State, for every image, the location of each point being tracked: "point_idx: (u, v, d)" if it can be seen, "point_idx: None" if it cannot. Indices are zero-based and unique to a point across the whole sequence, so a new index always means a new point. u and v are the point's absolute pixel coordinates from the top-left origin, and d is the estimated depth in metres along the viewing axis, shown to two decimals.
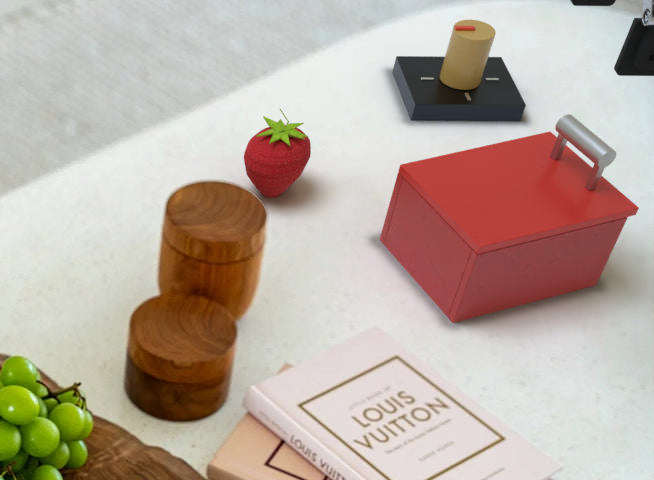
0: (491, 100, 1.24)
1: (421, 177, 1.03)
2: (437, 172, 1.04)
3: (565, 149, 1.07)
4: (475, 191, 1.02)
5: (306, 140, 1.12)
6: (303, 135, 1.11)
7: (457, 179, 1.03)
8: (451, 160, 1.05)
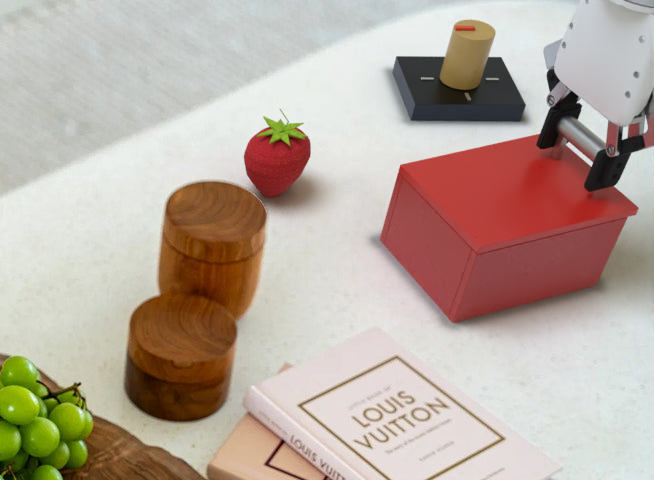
0: (491, 100, 1.24)
1: (421, 177, 1.03)
2: (437, 172, 1.04)
3: (565, 149, 1.07)
4: (475, 191, 1.02)
5: (306, 140, 1.12)
6: (303, 135, 1.11)
7: (457, 179, 1.03)
8: (451, 160, 1.05)
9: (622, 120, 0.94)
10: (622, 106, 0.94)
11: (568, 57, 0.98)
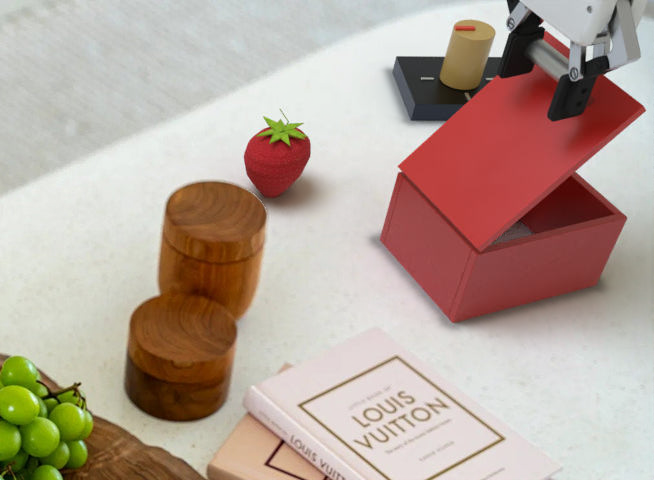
0: None
1: (417, 174, 1.03)
2: (432, 160, 1.03)
3: (562, 51, 0.98)
4: (470, 168, 1.00)
5: (306, 140, 1.12)
6: (303, 135, 1.11)
7: (452, 160, 1.01)
8: (445, 133, 1.03)
9: (584, 39, 0.86)
10: (584, 23, 0.86)
11: None
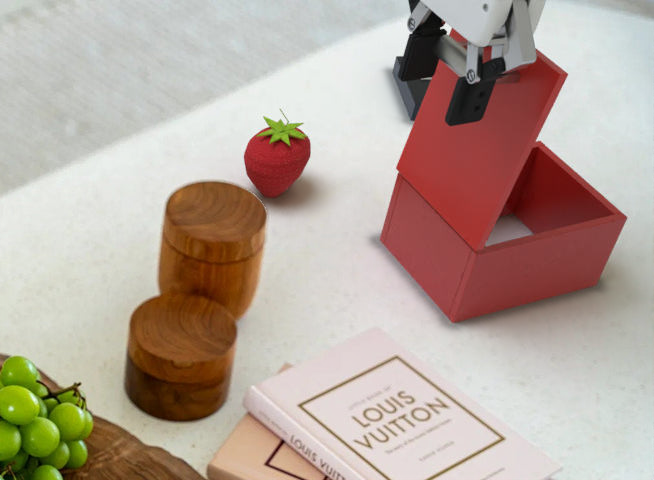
0: None
1: (412, 176, 1.03)
2: (418, 158, 1.02)
3: None
4: (448, 164, 0.98)
5: (306, 140, 1.12)
6: (303, 135, 1.11)
7: (432, 156, 1.00)
8: (420, 127, 1.01)
9: (480, 38, 0.83)
10: (480, 22, 0.82)
11: None
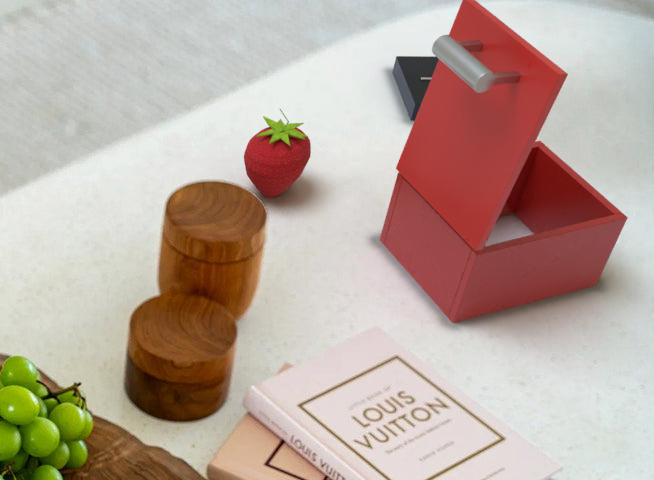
0: None
1: (412, 176, 1.03)
2: (418, 158, 1.02)
3: (482, 20, 0.92)
4: (447, 164, 0.98)
5: (306, 140, 1.12)
6: (303, 135, 1.11)
7: (432, 156, 1.00)
8: (420, 127, 1.01)
9: None
10: None
11: None
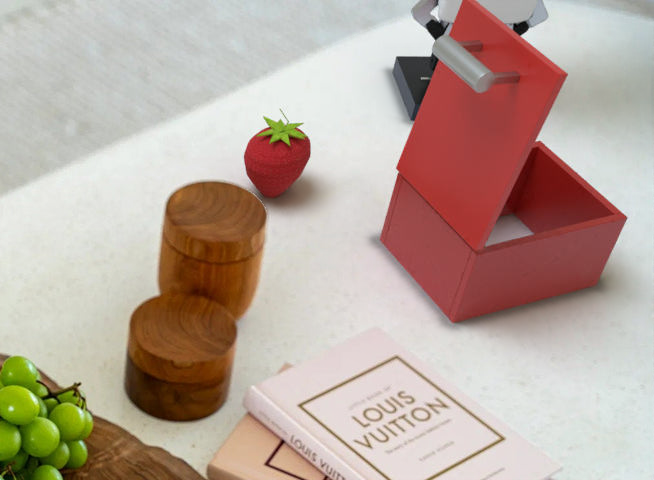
0: None
1: (412, 176, 1.03)
2: (418, 158, 1.02)
3: (482, 20, 0.92)
4: (447, 164, 0.98)
5: (306, 140, 1.12)
6: (303, 135, 1.11)
7: (432, 156, 1.00)
8: (420, 127, 1.01)
9: (529, 16, 1.20)
10: (528, 6, 1.19)
11: (461, 1, 1.18)
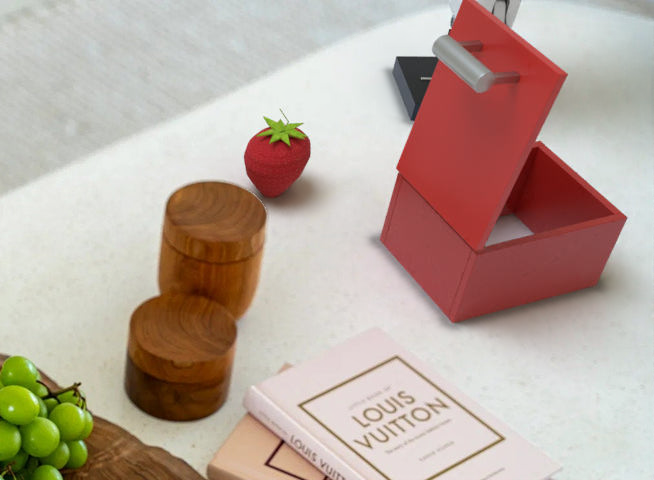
0: None
1: (412, 176, 1.03)
2: (418, 158, 1.02)
3: (482, 20, 0.92)
4: (447, 164, 0.98)
5: (306, 140, 1.12)
6: (303, 135, 1.11)
7: (432, 156, 1.00)
8: (420, 127, 1.01)
9: None
10: None
11: None
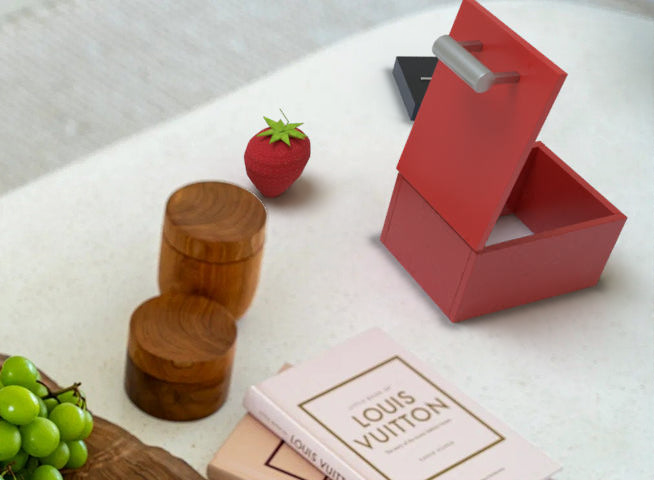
0: None
1: (412, 176, 1.03)
2: (418, 158, 1.02)
3: (482, 20, 0.92)
4: (447, 164, 0.98)
5: (306, 140, 1.12)
6: (303, 135, 1.11)
7: (432, 156, 1.00)
8: (420, 127, 1.01)
9: None
10: None
11: None
